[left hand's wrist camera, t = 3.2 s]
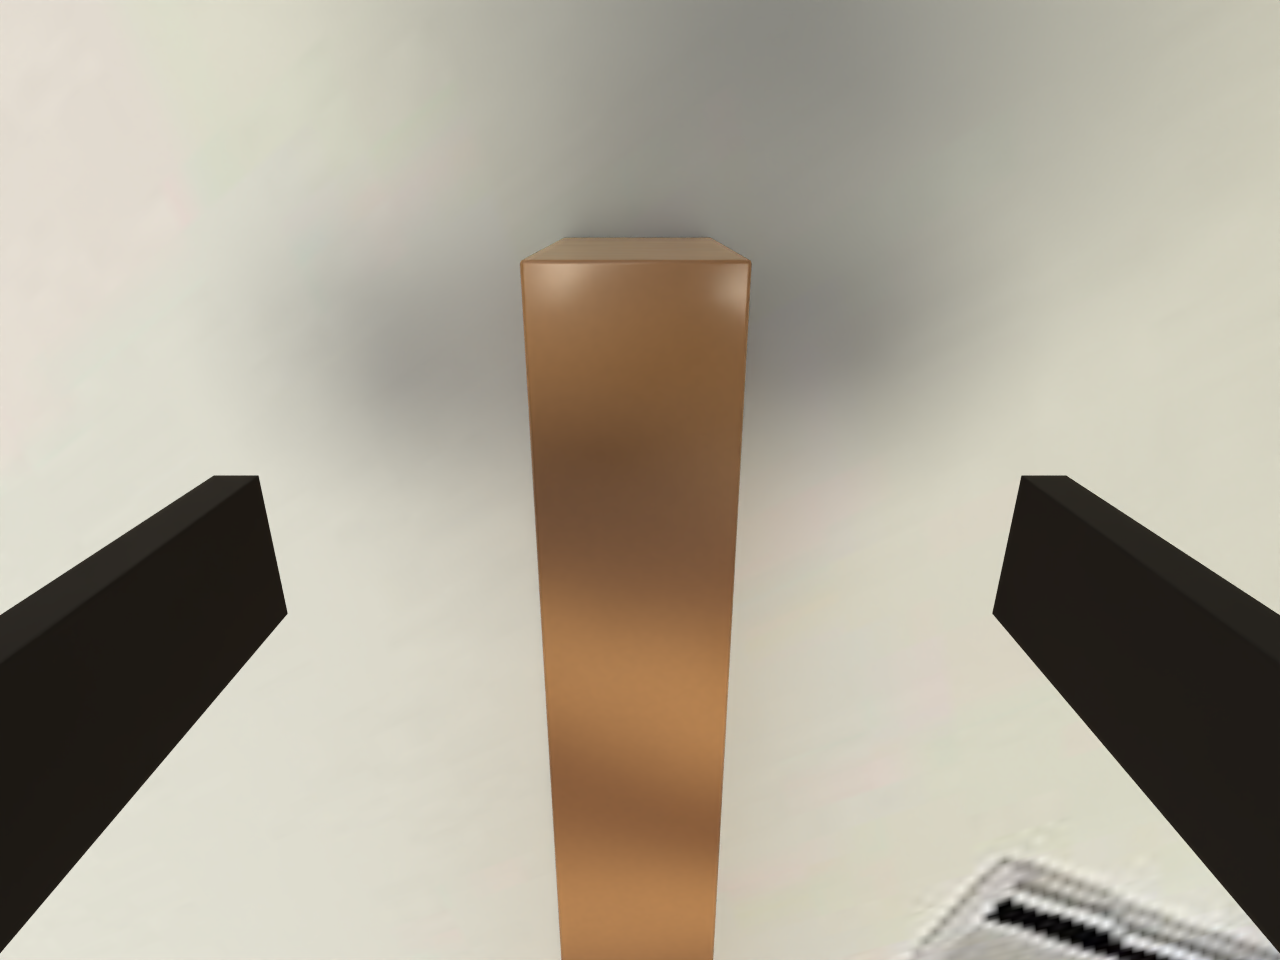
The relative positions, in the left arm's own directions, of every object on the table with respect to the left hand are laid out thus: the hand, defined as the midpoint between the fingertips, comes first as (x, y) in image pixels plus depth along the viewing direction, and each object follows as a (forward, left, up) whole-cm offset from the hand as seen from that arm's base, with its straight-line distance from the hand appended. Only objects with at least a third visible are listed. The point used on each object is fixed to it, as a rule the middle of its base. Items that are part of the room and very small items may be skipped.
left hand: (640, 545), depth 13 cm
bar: (+31, +14, -12) cm, 36 cm away
